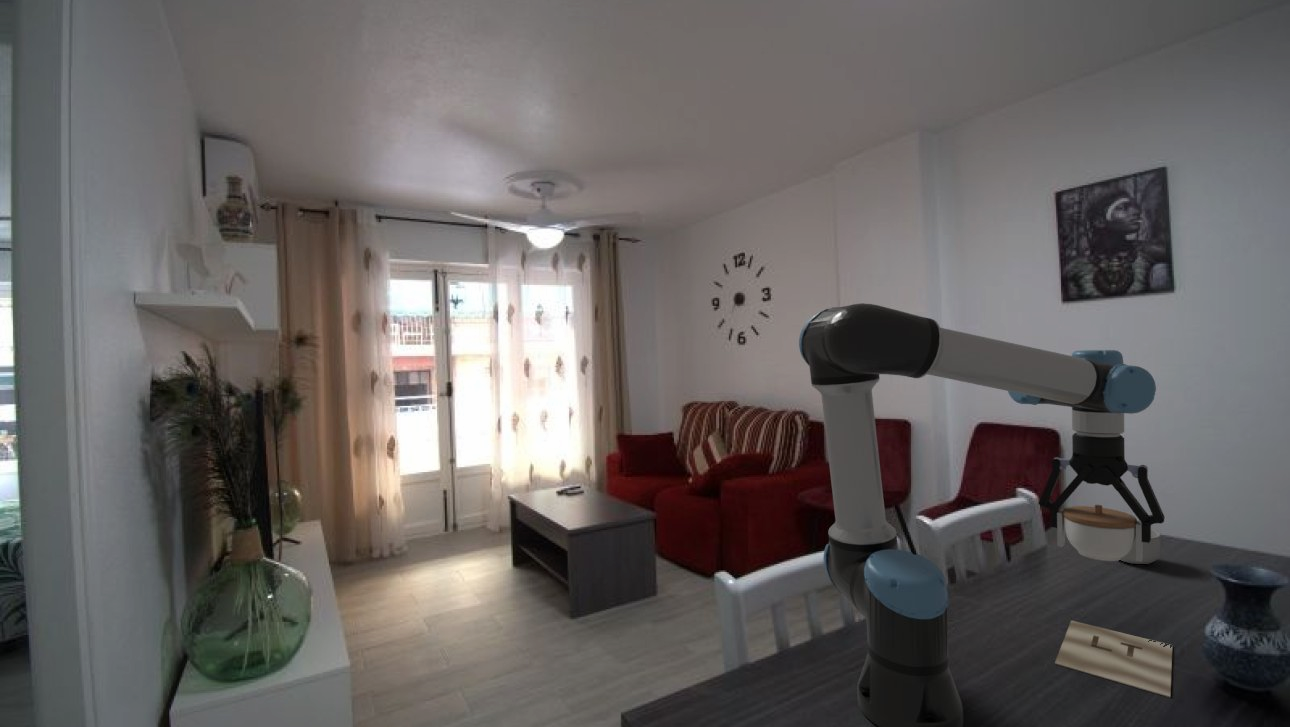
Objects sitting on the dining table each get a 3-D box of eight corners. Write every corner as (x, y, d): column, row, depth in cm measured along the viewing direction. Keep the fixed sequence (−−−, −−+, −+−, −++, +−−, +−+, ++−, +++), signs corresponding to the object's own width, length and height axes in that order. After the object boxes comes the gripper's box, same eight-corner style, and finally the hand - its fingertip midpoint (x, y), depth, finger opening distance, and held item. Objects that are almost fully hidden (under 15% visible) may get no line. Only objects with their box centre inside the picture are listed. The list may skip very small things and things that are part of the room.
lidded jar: (1151, 568, 99) (1151, 514, 99) (1081, 564, 101) (1081, 512, 101) (1114, 546, 109) (1114, 498, 109) (1052, 544, 112) (1051, 496, 111)
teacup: (1173, 568, 138) (1172, 535, 138) (1129, 570, 138) (1129, 537, 138) (1123, 548, 152) (1123, 518, 152) (1084, 549, 152) (1083, 520, 152)
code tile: (1170, 697, 90) (1170, 696, 90) (1054, 663, 100) (1054, 662, 100) (1172, 646, 104) (1172, 644, 104) (1071, 621, 115) (1071, 620, 115)
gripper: (1184, 436, 99) (1185, 560, 100) (1027, 426, 115) (1028, 533, 116) (1183, 442, 94) (1184, 573, 94) (1019, 431, 110) (1020, 543, 111)
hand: (1098, 551), depth 105 cm, fingers closed on lidded jar, 11 cm apart
